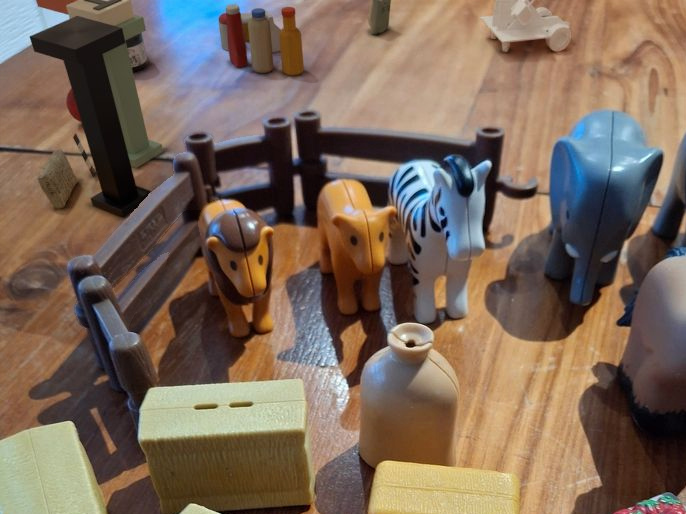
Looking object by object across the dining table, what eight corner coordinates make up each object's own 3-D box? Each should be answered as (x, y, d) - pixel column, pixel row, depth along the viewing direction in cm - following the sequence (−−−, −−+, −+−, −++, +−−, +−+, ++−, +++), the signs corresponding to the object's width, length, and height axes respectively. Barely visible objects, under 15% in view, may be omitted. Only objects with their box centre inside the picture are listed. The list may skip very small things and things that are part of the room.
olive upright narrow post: (390, 37, 165) (392, -3, 159) (367, 37, 165) (368, -3, 159) (390, 27, 169) (391, -12, 162) (367, 27, 169) (368, -12, 162)
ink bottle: (107, 77, 153) (90, 13, 143) (102, 61, 158) (86, -1, 149) (153, 70, 155) (140, 7, 145) (146, 55, 160) (133, -7, 151)
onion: (88, 134, 137) (75, 90, 130) (66, 126, 139) (53, 83, 132) (110, 122, 140) (98, 78, 134) (89, 114, 142) (76, 71, 136)
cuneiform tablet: (95, 172, 127) (78, 208, 120) (72, 177, 128) (53, 213, 120) (75, 133, 122) (56, 168, 114) (51, 138, 123) (30, 173, 115)
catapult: (499, 60, 156) (511, -26, 144) (477, 35, 165) (487, -48, 153) (577, 51, 159) (595, -34, 146) (551, 27, 168) (566, -55, 155)
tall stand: (161, 198, 122) (122, 27, 102) (123, 223, 117) (75, 49, 97) (122, 183, 125) (77, 15, 105) (84, 207, 120) (29, 36, 100)
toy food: (309, 74, 153) (305, 10, 143) (252, 86, 149) (245, 21, 140) (262, 30, 168) (256, -30, 159) (209, 41, 165) (201, -21, 155)
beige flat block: (134, 17, 115) (130, -2, 113) (102, 32, 111) (97, 12, 109) (59, -3, 121) (54, -21, 119) (27, 11, 117) (21, -8, 115)
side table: (171, 151, 132) (143, 16, 115) (136, 172, 127) (102, 35, 110) (134, 138, 135) (102, 6, 118) (99, 159, 131) (61, 24, 114)
